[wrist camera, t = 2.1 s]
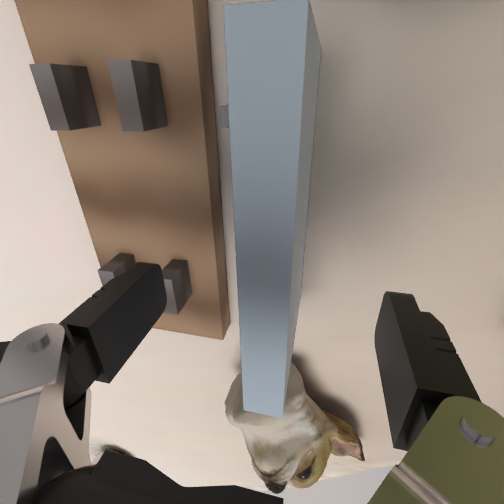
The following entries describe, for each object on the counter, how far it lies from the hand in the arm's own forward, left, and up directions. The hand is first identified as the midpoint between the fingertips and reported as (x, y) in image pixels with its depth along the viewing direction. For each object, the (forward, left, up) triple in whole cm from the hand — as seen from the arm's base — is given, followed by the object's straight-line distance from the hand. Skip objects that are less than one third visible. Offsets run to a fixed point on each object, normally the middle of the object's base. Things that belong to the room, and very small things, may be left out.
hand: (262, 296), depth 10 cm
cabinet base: (0, -10, -10) cm, 14 cm away
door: (0, 0, -10) cm, 10 cm away
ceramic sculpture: (+20, +1, -11) cm, 23 cm away
